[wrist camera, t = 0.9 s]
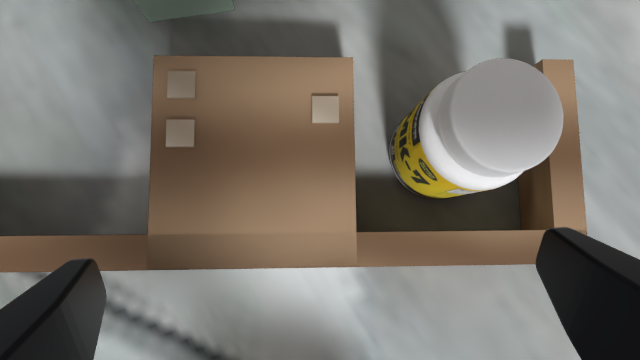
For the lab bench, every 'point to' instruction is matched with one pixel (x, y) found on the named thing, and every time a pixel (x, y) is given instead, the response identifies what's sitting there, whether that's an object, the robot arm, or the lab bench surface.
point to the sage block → (181, 8)
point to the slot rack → (290, 179)
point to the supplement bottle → (477, 130)
